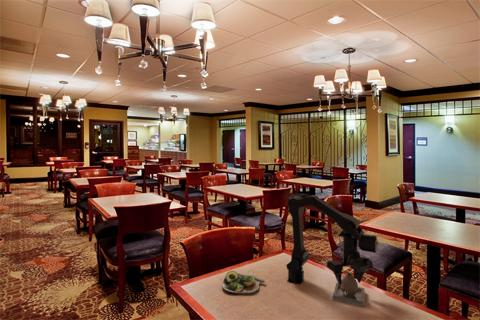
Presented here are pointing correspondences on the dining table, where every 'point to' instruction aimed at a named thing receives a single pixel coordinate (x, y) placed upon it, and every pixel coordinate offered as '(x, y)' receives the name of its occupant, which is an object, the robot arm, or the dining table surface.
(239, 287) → the salad plate
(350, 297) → the grey square tray
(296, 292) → the dining table surface
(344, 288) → the vase
